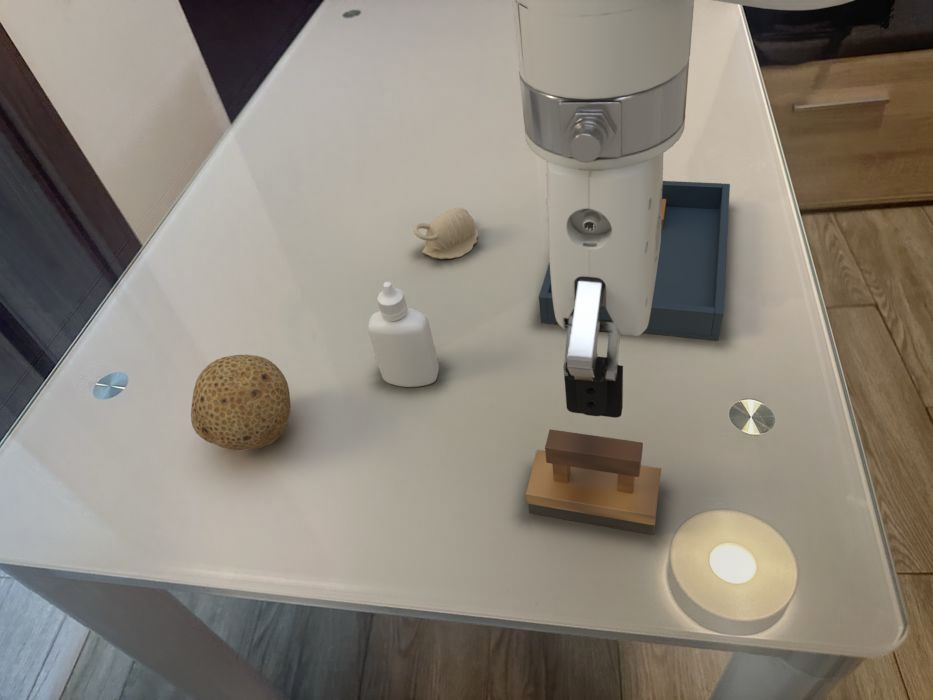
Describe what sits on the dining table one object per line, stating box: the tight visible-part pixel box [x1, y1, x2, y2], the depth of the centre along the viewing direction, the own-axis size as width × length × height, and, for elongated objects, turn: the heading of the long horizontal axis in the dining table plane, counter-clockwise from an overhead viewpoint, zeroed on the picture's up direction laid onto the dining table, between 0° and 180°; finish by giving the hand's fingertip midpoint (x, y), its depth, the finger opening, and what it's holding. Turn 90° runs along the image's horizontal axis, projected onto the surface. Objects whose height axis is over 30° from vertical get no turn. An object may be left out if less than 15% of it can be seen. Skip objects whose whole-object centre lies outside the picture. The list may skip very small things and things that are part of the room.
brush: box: [525, 429, 662, 536], centre depth 55 cm, size 10×4×8 cm, turn 74°
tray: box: [538, 180, 731, 341], centre depth 77 cm, size 18×22×4 cm
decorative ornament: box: [413, 207, 479, 260], centre depth 82 cm, size 4×8×5 cm, turn 122°
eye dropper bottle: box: [367, 281, 440, 388], centre depth 67 cm, size 4×6×12 cm
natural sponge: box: [190, 354, 292, 452], centre depth 64 cm, size 9×9×10 cm
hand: (606, 352), depth 45 cm, fingers open, 9 cm apart
